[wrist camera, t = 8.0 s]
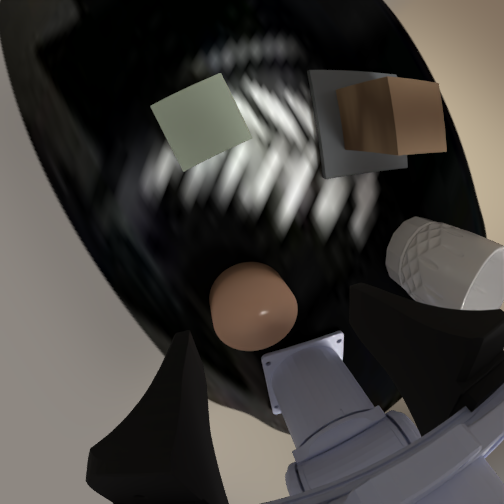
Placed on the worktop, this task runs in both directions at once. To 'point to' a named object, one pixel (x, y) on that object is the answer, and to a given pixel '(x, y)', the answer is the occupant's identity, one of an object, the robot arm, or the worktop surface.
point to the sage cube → (201, 121)
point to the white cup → (446, 265)
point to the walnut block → (392, 116)
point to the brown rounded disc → (251, 306)
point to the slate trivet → (330, 126)
